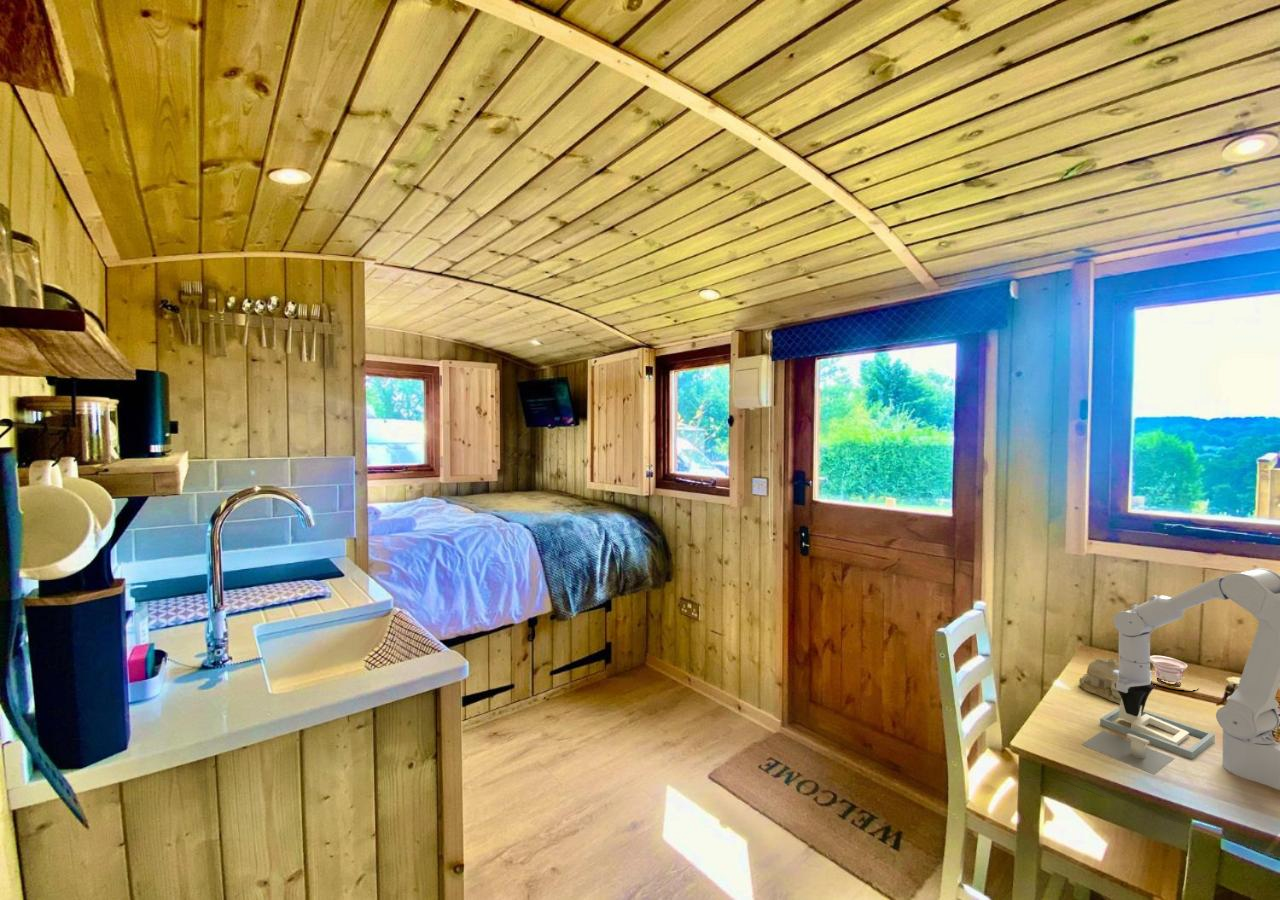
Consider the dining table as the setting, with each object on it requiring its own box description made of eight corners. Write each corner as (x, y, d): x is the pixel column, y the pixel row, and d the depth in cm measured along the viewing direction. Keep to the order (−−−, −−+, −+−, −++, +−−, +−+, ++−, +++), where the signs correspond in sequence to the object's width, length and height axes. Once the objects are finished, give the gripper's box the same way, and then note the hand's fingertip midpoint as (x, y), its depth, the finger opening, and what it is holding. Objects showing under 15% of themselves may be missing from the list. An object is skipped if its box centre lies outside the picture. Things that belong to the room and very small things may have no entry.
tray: (1214, 744, 126) (1214, 734, 126) (1192, 763, 119) (1192, 752, 119) (1124, 713, 141) (1124, 703, 140) (1100, 728, 134) (1100, 718, 134)
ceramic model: (1151, 698, 148) (1151, 662, 148) (1137, 711, 142) (1137, 673, 141) (1088, 679, 160) (1088, 646, 159) (1072, 690, 154) (1072, 655, 153)
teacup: (1130, 672, 163) (1130, 652, 163) (1175, 674, 161) (1175, 653, 161) (1162, 691, 151) (1162, 670, 151) (1211, 693, 150) (1211, 671, 149)
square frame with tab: (1188, 738, 128) (1191, 720, 127) (1174, 748, 124) (1178, 730, 123) (1127, 711, 138) (1129, 695, 137) (1112, 720, 134) (1115, 703, 133)
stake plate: (1174, 762, 120) (1174, 740, 120) (1154, 779, 115) (1154, 755, 115) (1102, 734, 131) (1102, 714, 131) (1080, 748, 126) (1080, 727, 126)
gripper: (1126, 646, 140) (1126, 698, 140) (1100, 659, 133) (1100, 713, 133) (1162, 656, 134) (1162, 710, 134) (1137, 670, 127) (1137, 727, 127)
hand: (1134, 713), depth 133 cm, fingers closed on square frame with tab, 2 cm apart
